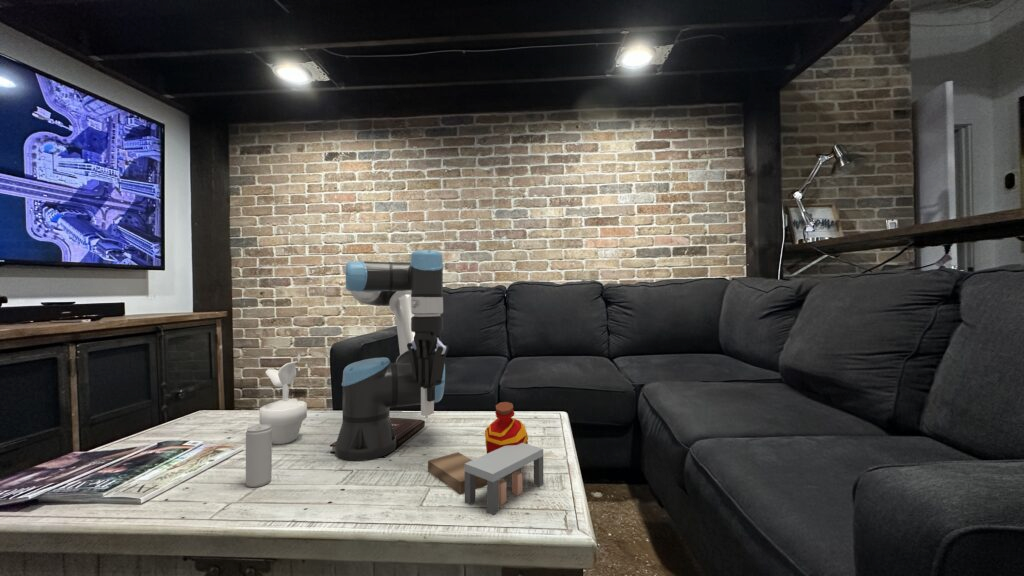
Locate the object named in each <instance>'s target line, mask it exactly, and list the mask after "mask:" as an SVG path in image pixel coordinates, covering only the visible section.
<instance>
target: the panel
mask: <svg viewBox="0 0 1024 576" xmlns="http://www.w3.org/2000/svg"><path fill="white" fill-rule="evenodd" d="M472 460H473V459H471V458H470V457H467V456H466V455H464V454H462V453H461V452H459V451H458V452H454V453H450V454H446V455H444V456H440V457H436V458H433V459H428V460H427V473H429V474H431V475H432V476H433V477H434V478H436V479H438V480H439V481H441V482H442V483H444V484H445V486H448V487H449V488H450V489H451V490H453V491H455V492H456V493H458V495H465V463H467V462H469V461H472ZM475 480H476V490H478V489H482V488H483V487H487V480H486V479H483V478H481V477H478V476H475Z"/></svg>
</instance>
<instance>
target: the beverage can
mask: <svg viewBox="0 0 1024 576" xmlns="http://www.w3.org/2000/svg"><path fill="white" fill-rule="evenodd" d="M272 446H273V443H272V429H271V425H269V424H260V423H259V424H255V425H251V426H249V427H247V428H246V432H245V485H247V487H249V488H259V487H262V486H265V485H267V484H268V483H270V481H271V480H272V474H273V473H272V467H273V466H272V463H273V462H272V460H273V459H272V458H273V457H272V453H273V451H272V450H273V449H272Z"/></svg>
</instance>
